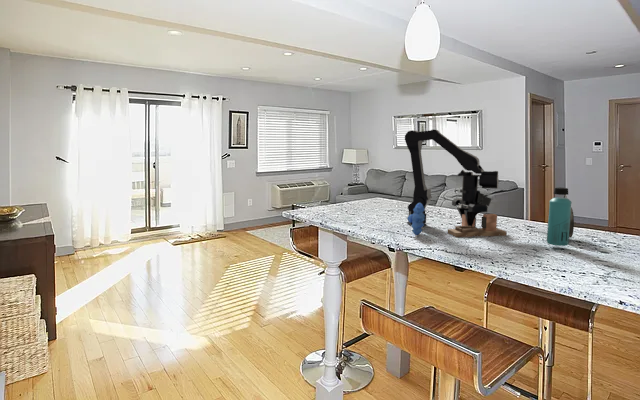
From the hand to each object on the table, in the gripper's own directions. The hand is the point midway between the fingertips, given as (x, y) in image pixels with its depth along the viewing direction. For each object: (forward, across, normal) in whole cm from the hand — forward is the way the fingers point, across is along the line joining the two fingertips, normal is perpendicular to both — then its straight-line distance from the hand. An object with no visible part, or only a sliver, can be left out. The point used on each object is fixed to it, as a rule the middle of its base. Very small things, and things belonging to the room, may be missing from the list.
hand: (467, 226), depth 166 cm
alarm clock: (+1, -21, -25) cm, 33 cm away
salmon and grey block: (+1, 0, 0) cm, 1 cm away
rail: (+1, -9, +1) cm, 9 cm away
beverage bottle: (+1, -32, -15) cm, 35 cm away
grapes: (+2, -6, +24) cm, 25 cm away
